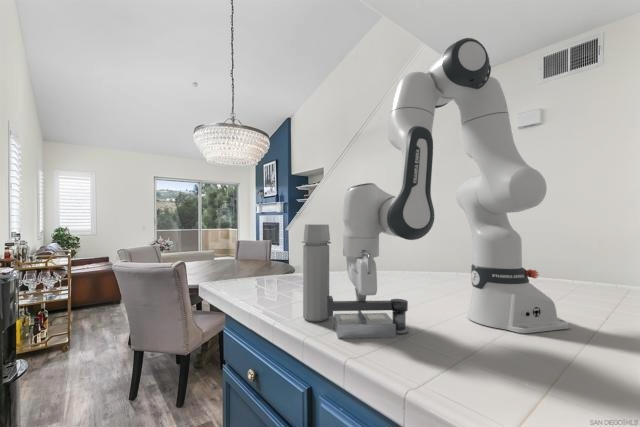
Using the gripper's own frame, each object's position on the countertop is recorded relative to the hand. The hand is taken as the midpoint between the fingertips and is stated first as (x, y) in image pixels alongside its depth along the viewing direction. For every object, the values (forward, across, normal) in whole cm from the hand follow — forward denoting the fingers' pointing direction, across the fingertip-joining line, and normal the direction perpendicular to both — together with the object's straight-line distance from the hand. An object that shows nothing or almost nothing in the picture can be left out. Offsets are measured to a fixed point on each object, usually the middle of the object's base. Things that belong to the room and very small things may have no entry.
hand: (360, 305), depth 74 cm
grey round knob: (+5, -3, -8) cm, 10 cm away
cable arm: (+1, -3, -1) cm, 4 cm away
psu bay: (+5, -3, 0) cm, 6 cm away
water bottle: (+5, +8, +11) cm, 14 cm away
